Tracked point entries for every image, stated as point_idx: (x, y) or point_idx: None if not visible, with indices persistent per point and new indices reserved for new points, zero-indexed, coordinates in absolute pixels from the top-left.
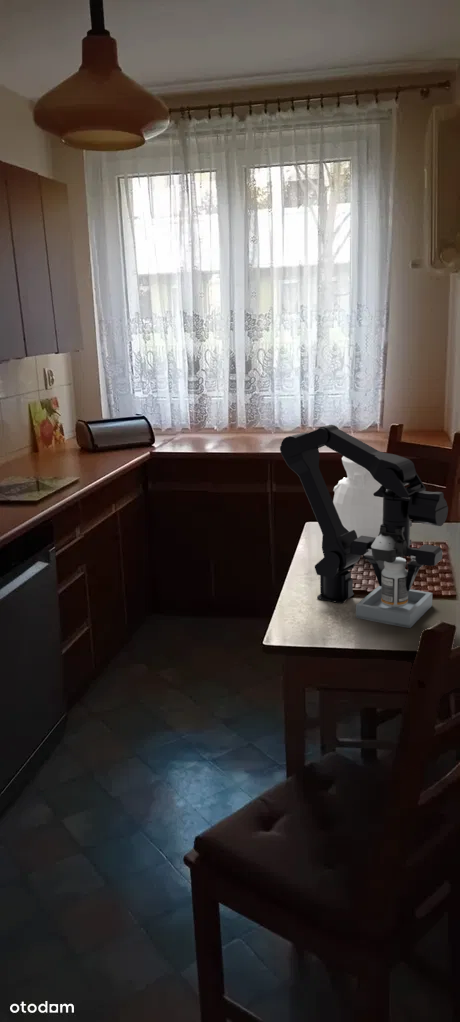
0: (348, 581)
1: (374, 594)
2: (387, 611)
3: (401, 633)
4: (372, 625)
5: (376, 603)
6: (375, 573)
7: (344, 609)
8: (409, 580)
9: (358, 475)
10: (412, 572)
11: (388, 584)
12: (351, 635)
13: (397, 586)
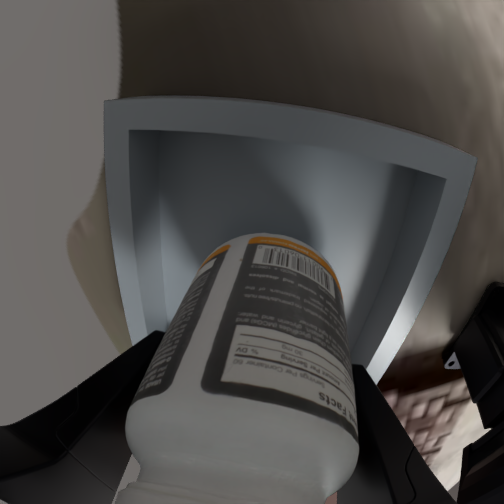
0: (497, 375)
1: (381, 336)
2: (256, 102)
3: (166, 23)
4: (338, 59)
5: (364, 309)
6: (408, 438)
7: (487, 230)
8: (104, 379)
9: None
10: (40, 422)
11: (278, 339)
12: None
13: (194, 327)
